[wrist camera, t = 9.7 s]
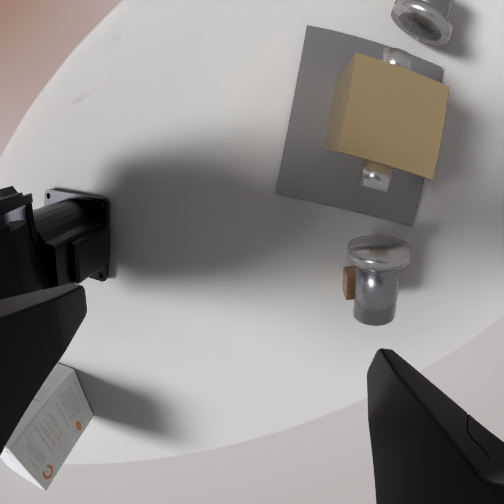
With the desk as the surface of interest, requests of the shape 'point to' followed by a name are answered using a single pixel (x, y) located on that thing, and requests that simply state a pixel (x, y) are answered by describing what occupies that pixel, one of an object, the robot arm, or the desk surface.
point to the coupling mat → (315, 128)
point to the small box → (48, 428)
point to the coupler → (387, 117)
